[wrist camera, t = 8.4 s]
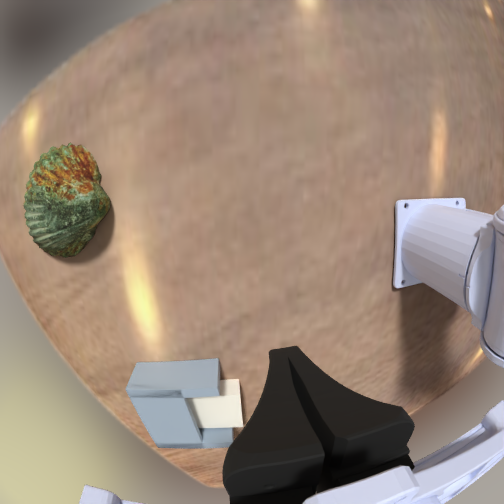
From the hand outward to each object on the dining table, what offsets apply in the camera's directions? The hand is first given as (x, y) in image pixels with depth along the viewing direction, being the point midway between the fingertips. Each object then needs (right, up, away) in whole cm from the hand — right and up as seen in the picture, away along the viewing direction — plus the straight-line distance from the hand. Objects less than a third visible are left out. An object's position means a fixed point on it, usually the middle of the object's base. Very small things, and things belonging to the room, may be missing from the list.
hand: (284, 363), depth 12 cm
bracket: (-8, -9, +12) cm, 17 cm away
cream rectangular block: (-7, -9, +13) cm, 17 cm away
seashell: (-18, +10, +7) cm, 21 cm away
